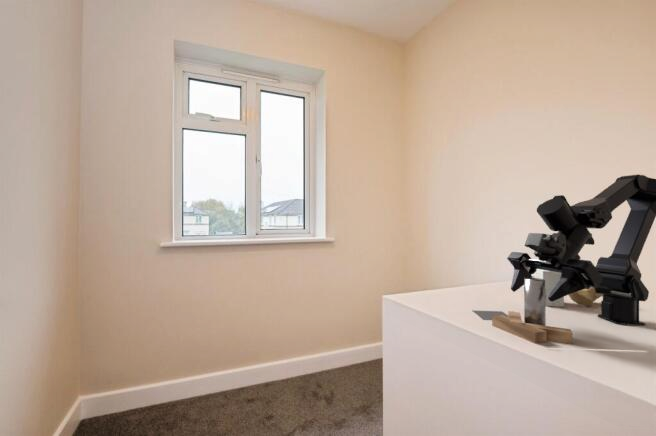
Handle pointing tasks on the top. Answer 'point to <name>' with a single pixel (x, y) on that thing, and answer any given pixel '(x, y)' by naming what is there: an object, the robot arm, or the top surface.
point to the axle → (534, 301)
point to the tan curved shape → (585, 296)
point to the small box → (549, 285)
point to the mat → (489, 314)
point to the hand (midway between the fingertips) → (529, 294)
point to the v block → (531, 329)
